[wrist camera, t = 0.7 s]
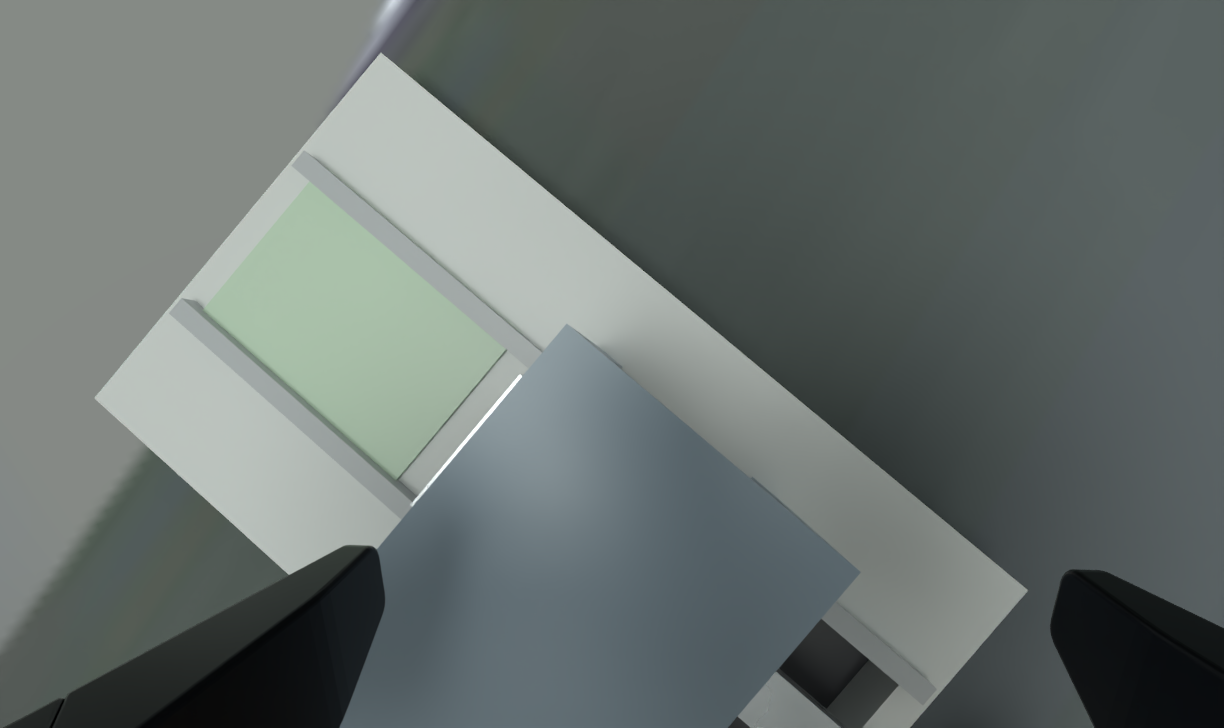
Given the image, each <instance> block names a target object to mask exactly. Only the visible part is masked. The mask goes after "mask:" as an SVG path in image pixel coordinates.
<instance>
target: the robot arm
mask: <svg viewBox="0 0 1224 728" xmlns="http://www.w3.org/2000/svg"><path fill="white" fill-rule="evenodd" d="M384 608H385V590H384V583H383V577H382V571H381V564H380V558H379V554H378V551H377V549H376V548H374V547H373V546H370V545H344V546H342V547H340V548H338V549H337V550H335V551H333V552H331V553H329V554H327V555H325V556H323V557H322V558H320V559H318V560H316V561H314V562H312V563H310V564H308V565H307V566H305V567H303V568H301V569H299V570H297V571H295V572H294V573H292V574H290V575H288V576H286V577H284V578H282V579H280V580H279V581H277V582H275V583H273V584H271V585H269V586H267V587H266V588H264V589H262V590H260V591H258V592H256V593H254V594H252V595H251V596H249V597H247V598H245V599H243V600H241V601H239V602H238V603H236V604H234V605H232V606H230V607H228V608H226V609H224V610H223V611H221V612H219V613H217V614H215V615H213V616H211V617H210V618H208V619H206V620H204V621H202V622H200V623H198V624H196V625H195V626H193V627H191V628H189V629H187V630H185V631H183V632H182V633H180V634H178V635H176V636H174V637H172V638H170V639H168V640H167V641H165V642H163V643H161V644H159V645H157V646H155V647H153V648H152V649H150V650H148V651H146V652H144V653H142V654H140V655H139V656H137V657H135V658H133V659H131V660H129V661H127V662H125V663H124V664H122V665H120V666H118V667H116V668H114V669H112V670H111V671H109V672H107V673H105V674H103V675H101V676H99V677H97V678H96V679H94V680H92V681H90V682H88V683H86V684H84V685H83V686H81V687H79V688H77V689H75V690H73V691H71V692H70V693H68V694H67V696H66V698H65V699H64V698H58V699H56V700H54V701H52V702H50V703H49V704H47V705H45V706H43V707H41V708H39V709H37V710H36V711H34V712H32V713H30V714H28V715H26V716H25V717H23V718H21V719H19V720H17V721H15V722H13V723H11V724H9V725H7V726H5V727H3V728H340V725H341V723H342V721H343V719H344V716H345V714H346V711H347V709H348V706H349V704H350V701H351V699H352V696H353V693H354V691H355V688H356V685H357V683H358V680H359V677H360V675H361V672H362V669H363V666H364V664H365V661H366V658H367V656H368V653H369V650H370V648H371V645H372V642H373V640H374V637H375V634H376V631H377V629H378V626H379V623H380V621H381V618H382V615H383V612H384ZM1050 630H1051V636H1052V639H1053V642H1054V645H1055V647H1056V649H1057V651H1058V653H1059V655H1060V657H1061V659H1062V661H1063V663H1064V666H1065V668H1066V670H1067V672H1068V674H1069V676H1070V678H1071V680H1072V682H1073V684H1074V686H1075V688H1076V690H1077V693H1078V695H1079V697H1080V699H1081V701H1082V703H1083V705H1084V707H1085V709H1086V711H1087V713H1088V715H1089V718H1090V720H1091V722H1092V724H1093V726H1094V728H1224V628H1222V627H1220V626H1218V625H1216V624H1214V623H1212V622H1210V621H1208V620H1206V619H1203V618H1201V617H1199V616H1197V615H1195V614H1193V613H1191V612H1189V611H1187V610H1185V609H1183V608H1181V607H1179V606H1176V605H1174V604H1172V603H1170V602H1168V601H1166V600H1164V599H1162V598H1160V597H1158V596H1156V595H1154V594H1152V593H1149V592H1147V591H1145V590H1143V589H1141V588H1139V587H1137V586H1135V585H1133V584H1131V583H1129V582H1127V581H1125V580H1122V579H1120V578H1118V577H1116V576H1114V575H1112V574H1110V573H1108V572H1105V571H1100V570H1069V571H1067V572H1066V573H1065V574H1064V575H1063V576H1062V579H1061V582H1060V586H1059V590H1058V594H1057V598H1056V602H1055V606H1054V610H1053V614H1052V618H1051V624H1050Z"/></svg>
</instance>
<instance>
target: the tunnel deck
mask: <svg viewBox="0 0 1224 728" xmlns="http://www.w3.org/2000/svg"><path fill="white" fill-rule="evenodd" d="M520 374H522V375H523V376H522V377H521V378H520V380H519V381H518V382H517V383H516V384H515V386H514V387H513V388H512V389H511V390H510V391H509V393H508V394H507V395H506V396H505V397H504V399H503V400H502V401H501V402H500V403H499V405H498V406H497V407H496V408H495V409H494V410H493V412H492V413H491V414H490V415H489V416H488V418H487V419H486V420H485V421H484V422H483V424H482V425H481V426H480V427H479V428H478V429H477V431H476V432H475V433H474V434H473V435H472V437H471V438H470V439H469V440H468V441H467V443H466V444H465V445H464V446H463V447H462V449H461V450H460V451H459V452H458V453H457V454H456V456H455V457H454V458H453V459H452V460H451V462H450V463H449V464H448V465H447V466H446V468H445V469H444V470H443V471H442V472H441V473H440V475H439V476H438V477H437V478H436V479H435V481H434V482H433V483H432V484H431V485H430V487H429V488H428V489H427V490H426V491H425V492H424V494H423V495H422V496H421V497H420V498H419V500H418V501H417V502H416V503H415V504H414V506H413V507H412V506H410V504H411V503H412V502H413V501H414V500H415V499H416V497H417V496H418V495H419V494H420V493H421V491H422V490H423V489H424V488H425V487H426V485H427V484H428V483H429V482H430V481H431V480H432V478H433V477H434V476H435V475H436V474H437V472H438V471H439V470H440V469H441V468H442V466H443V465H444V464H445V463H446V462H447V460H448V459H449V458H450V457H451V456H452V455H453V453H454V452H455V451H456V450H457V449H458V447H459V446H460V445H461V444H462V443H463V441H464V440H465V439H466V438H467V437H468V436H469V434H470V433H471V432H472V431H473V430H474V428H475V427H476V426H477V425H478V424H479V422H480V421H481V420H482V419H483V418H484V417H485V415H486V414H487V413H488V412H489V411H490V409H491V408H492V407H493V406H494V405H495V403H496V402H497V401H498V400H499V399H500V398H501V396H502V395H503V394H504V393H505V392H506V390H507V389H508V388H509V387H510V386H511V384H512V383H513V382H514V381H515V380H516V378H517V377H518V376H519V375H520ZM95 399H96V400H97V401H98V402H99V403H100V404H101V405H102V406H103V407H105V408H106V409H107V410H108V411H109V412H110V413H111V414H112V415H114V417H116V418H117V419H118V420H119V421H120V422H121V423H122V424H123V425H124V426H126V427H127V428H128V429H129V430H130V431H131V432H132V433H134V435H135V436H137V437H138V438H139V439H140V440H141V441H142V442H143V443H144V444H145V445H146V446H148V447H149V448H150V449H151V450H152V451H153V452H154V453H155V454H156V455H157V456H159V457H160V458H161V459H162V460H163V461H164V462H165V463H166V464H167V465H168V466H170V467H171V468H172V469H173V470H174V471H175V472H176V473H177V474H178V475H180V476H181V477H182V478H183V479H184V480H185V481H186V482H187V483H188V484H189V485H191V486H192V487H193V488H194V489H195V490H196V491H197V492H198V493H199V494H200V495H202V496H203V497H204V498H205V499H206V500H207V501H208V502H209V503H210V504H211V505H213V506H214V507H215V508H216V509H217V510H218V511H219V512H220V513H221V514H223V515H224V516H225V517H226V518H227V519H228V520H229V521H230V522H231V523H232V524H234V525H235V526H236V527H237V528H238V529H239V530H240V531H241V532H242V533H243V534H245V535H246V536H247V537H248V538H249V539H250V540H251V541H252V542H253V543H254V544H256V545H257V546H258V547H259V548H260V549H261V550H262V551H263V552H264V553H266V554H267V555H268V556H269V557H270V558H271V559H272V560H273V561H274V562H275V563H277V564H278V565H279V566H280V567H281V568H282V569H283V570H284V571H285V572H286V573H288V574H289V575H290V574H292V573H294V572H295V571H297V570H299V569H301V568H303V567H305V566H307V565H308V564H310V563H312V562H314V561H316V560H318V559H320V558H322V557H323V556H325V555H327V554H329V553H331V552H333V551H335V550H337V549H338V548H340V547H342V546H344V545H370V546H373V547H374V548H376V549H377V551H378V554H379V558H380V564H381V571H382V577H383V583H384V590H385V608H384V612H383V615H382V618H381V621H380V623H379V626H378V629H377V631H376V634H375V637H374V640H373V642H372V645H371V648H370V650H369V653H368V656H367V658H366V661H365V664H364V666H363V669H362V672H361V675H360V677H359V680H358V683H357V685H356V688H355V691H354V693H353V696H352V699H351V701H350V704H349V706H348V709H347V711H346V714H345V716H344V719H343V721H342V723H341V725H340V728H750V727H749V726H748V725H747V724H746V723H745V722H743V721H742V720H741V719H740V718H739V717H738V715H739V714H740V713H741V712H742V711H743V709H744V708H745V707H746V706H747V705H748V704H749V702H750V701H751V700H752V699H753V698H754V697H755V695H756V694H757V693H758V692H759V691H760V690H761V688H762V687H763V686H764V685H765V684H766V683H767V681H768V680H769V679H770V678H771V677H772V675H773V674H774V673H775V672H776V671H777V670H778V668H779V669H780V670H782V671H783V672H784V673H785V674H786V675H787V676H789V677H790V678H791V679H792V680H793V681H794V682H796V683H797V684H798V685H799V686H800V687H801V688H802V689H804V690H805V691H806V692H807V693H808V694H809V695H811V696H812V697H813V698H814V699H815V700H816V701H817V702H819V703H820V704H821V705H822V706H823V707H824V708H826V709H827V710H828V711H829V712H830V713H831V714H833V715H834V716H835V717H836V718H837V719H838V720H839V721H841V722H842V723H843V724H844V725H845V726H846V727H848V728H910V727H911V726H912V725H913V724H914V722H915V721H916V720H917V719H918V718H919V717H920V715H921V714H922V713H923V712H924V711H925V710H926V708H927V707H928V706H929V705H930V704H931V703H932V702H933V700H934V699H935V698H936V697H937V696H938V695H939V693H940V692H941V691H942V690H943V689H944V688H945V686H946V685H947V684H948V683H949V682H950V681H951V679H952V678H953V677H954V676H955V675H956V674H957V673H958V671H959V670H960V669H961V668H962V667H963V666H964V664H965V663H966V662H967V661H968V660H969V659H970V657H971V656H972V655H973V654H974V653H975V652H976V650H977V649H978V648H979V647H980V646H981V645H982V644H983V642H984V641H985V640H986V639H987V638H988V637H989V635H990V634H991V633H992V632H993V631H994V630H995V628H996V627H997V626H998V625H999V624H1000V623H1001V621H1002V620H1003V619H1004V618H1005V617H1006V616H1007V615H1008V613H1009V612H1010V611H1011V610H1012V609H1013V608H1014V606H1015V605H1016V604H1017V603H1018V602H1019V601H1020V599H1021V598H1022V597H1023V596H1024V595H1025V594H1026V592H1027V591H1028V590H1027V589H1026V588H1024V587H1023V586H1022V585H1021V584H1020V583H1018V582H1017V581H1016V580H1015V579H1014V578H1012V577H1011V576H1010V575H1009V574H1008V573H1006V572H1005V571H1004V570H1003V569H1002V568H1000V567H999V566H998V565H997V564H996V563H994V562H993V561H992V560H991V559H990V558H988V557H987V556H986V555H985V554H984V553H982V552H981V551H980V550H979V549H978V548H976V547H975V546H974V545H973V544H972V543H970V542H969V541H968V540H967V539H966V538H964V537H963V536H962V535H961V534H959V533H958V532H957V531H956V530H955V529H953V528H952V527H951V526H950V525H949V524H947V523H946V522H945V521H944V520H943V519H941V518H940V517H939V516H938V515H937V514H935V513H934V512H933V511H932V510H931V509H929V508H928V507H927V506H926V505H925V504H923V503H922V502H921V501H920V500H919V499H917V498H916V497H915V496H914V495H913V494H911V493H910V492H909V491H908V490H907V489H905V488H904V487H903V486H902V485H901V484H899V483H898V482H897V481H896V480H895V479H893V478H892V477H891V476H890V475H888V474H887V473H886V472H885V471H884V470H882V469H881V468H880V467H879V466H878V465H876V464H875V463H874V462H873V461H872V460H870V459H869V458H868V457H867V456H866V455H864V454H863V453H862V452H861V451H860V450H858V449H857V448H856V447H855V446H854V445H852V444H851V443H850V442H849V441H848V440H846V439H845V438H844V437H843V436H842V435H840V434H839V433H838V432H837V431H836V430H834V429H833V428H832V427H831V426H830V425H828V424H827V423H826V422H825V421H823V420H822V419H821V418H820V417H819V416H817V415H816V414H815V413H814V412H813V411H811V410H810V409H809V408H808V407H807V406H805V405H804V404H803V403H802V402H801V401H799V400H798V399H797V398H796V397H795V396H793V395H792V394H791V393H790V392H789V391H787V390H786V389H785V388H784V387H783V386H781V385H780V384H779V383H778V382H777V381H775V380H774V379H773V378H772V377H771V376H769V375H768V374H767V373H766V372H765V371H763V370H762V369H761V368H760V367H758V366H757V365H756V364H755V363H754V362H752V361H751V360H750V359H749V358H748V357H746V356H745V355H744V354H743V353H742V352H740V351H739V350H738V349H737V348H736V347H734V346H733V345H732V344H731V343H730V342H728V341H727V340H726V339H725V338H724V337H722V336H721V335H720V334H719V333H718V332H716V331H715V330H714V329H713V328H712V327H710V326H709V325H708V324H707V323H706V322H704V321H703V320H702V319H701V318H700V317H698V316H697V315H696V314H695V313H694V312H692V311H691V310H690V309H689V308H687V307H686V306H685V305H684V304H683V303H681V302H680V301H679V300H678V299H677V298H675V297H674V296H673V295H672V294H671V293H669V292H668V291H667V290H666V289H665V288H663V287H662V286H661V285H660V284H659V283H657V282H656V281H655V280H654V279H653V278H651V277H650V276H649V275H648V274H647V273H645V272H644V271H643V270H642V269H641V268H639V267H638V266H637V265H636V264H635V263H633V262H632V261H631V260H630V259H629V258H627V257H626V256H625V255H624V254H622V253H621V252H620V251H619V250H618V249H616V248H615V247H614V246H613V245H612V244H610V243H609V242H608V241H607V240H606V239H604V238H603V237H602V236H601V235H600V234H598V233H597V232H596V231H595V230H594V229H592V228H591V227H590V226H589V225H588V224H586V223H585V222H584V221H583V220H582V219H580V218H579V217H578V216H577V215H576V214H574V213H573V212H572V211H571V210H570V209H568V208H567V207H566V206H565V205H564V204H562V203H561V202H560V201H559V200H558V199H556V198H555V197H554V196H553V195H551V194H550V193H549V192H548V191H547V190H545V189H544V188H543V187H542V186H541V185H539V184H538V183H537V182H536V181H535V180H533V179H532V178H531V177H530V176H529V175H527V174H526V173H525V172H524V171H523V170H521V169H520V168H519V167H518V166H517V165H515V164H514V163H513V162H512V161H511V160H509V159H508V158H507V157H506V156H505V155H503V154H502V153H501V152H500V151H499V150H497V149H496V148H495V147H494V146H493V145H491V144H490V143H489V142H488V141H486V140H485V139H484V138H483V137H482V136H480V135H479V134H478V133H477V132H476V131H474V130H473V129H472V128H471V127H470V126H468V125H467V124H466V123H465V122H464V121H462V120H461V119H460V118H459V117H458V116H456V115H455V114H454V113H453V112H452V111H450V110H449V109H448V108H447V107H446V106H444V105H443V104H442V103H441V102H440V101H438V100H437V99H436V98H435V97H434V96H432V95H431V94H430V93H429V92H428V91H426V90H425V89H424V88H423V87H421V86H420V85H419V84H418V83H417V82H415V81H414V80H413V79H412V78H411V77H409V76H408V75H407V74H406V73H405V72H403V71H402V70H401V69H400V68H399V67H397V66H396V65H395V64H394V63H393V62H391V61H390V60H389V59H388V58H387V57H385V56H384V55H383V54H382V53H380V54H379V56H378V57H377V58H376V59H375V60H374V62H373V63H372V64H371V65H370V66H369V68H368V69H367V70H366V71H365V72H364V74H363V75H362V76H361V77H360V78H359V80H358V81H357V82H356V83H355V84H354V86H353V87H352V88H351V89H350V90H349V92H348V93H347V94H346V95H345V97H344V98H343V99H342V100H341V101H340V103H339V104H338V105H337V106H336V107H335V109H334V110H333V111H332V112H331V113H330V115H329V116H328V117H327V118H326V119H325V121H324V122H323V123H322V124H321V125H320V127H319V128H318V129H317V130H316V131H315V133H314V134H313V135H312V136H311V137H310V139H309V140H308V141H307V142H306V144H305V145H304V146H303V147H302V148H301V150H300V151H299V152H298V153H297V154H296V156H295V157H294V158H293V159H292V161H291V162H290V163H289V164H288V165H287V166H286V168H285V169H284V170H283V171H282V172H281V174H280V175H279V176H278V177H277V178H276V180H275V181H274V182H273V183H272V185H271V186H270V187H269V188H268V189H267V191H266V192H265V193H264V194H263V195H262V197H261V198H260V199H259V200H258V201H257V203H256V204H255V205H254V206H253V207H252V209H251V210H250V211H249V212H248V213H247V215H246V216H245V217H244V218H243V220H242V221H241V222H240V223H239V224H238V226H237V227H236V228H235V229H234V230H233V232H232V233H231V234H230V235H229V236H228V238H227V239H226V240H225V241H224V242H223V244H222V245H221V246H220V247H219V249H218V250H217V251H216V252H215V253H214V255H213V256H212V257H211V258H210V259H209V261H208V262H207V263H206V264H205V265H204V267H203V268H202V269H201V270H200V271H199V273H198V274H197V275H196V276H195V277H194V279H193V280H192V281H191V282H190V283H189V285H188V286H187V287H186V288H185V289H184V291H183V292H182V293H181V294H180V296H179V297H178V298H177V299H176V300H175V301H174V303H173V304H172V305H171V306H170V308H169V309H168V310H167V311H166V312H165V313H164V315H163V316H162V317H161V318H160V320H159V321H158V322H157V323H156V324H155V326H154V327H153V328H152V329H151V330H150V332H149V333H148V334H147V335H146V336H145V338H144V339H143V340H142V341H141V342H140V344H139V345H138V346H137V347H136V349H135V350H134V351H133V352H132V353H131V355H130V356H129V357H128V358H127V359H126V361H125V362H124V363H123V364H122V365H121V367H120V368H119V369H118V370H117V371H116V373H115V374H114V375H113V376H112V377H111V379H110V380H109V381H108V382H107V383H106V385H105V386H104V387H103V388H102V390H101V391H100V392H99V393H98V394H97V396H96V397H95Z"/></svg>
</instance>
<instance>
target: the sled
mask: <svg viewBox="0 0 1224 728" xmlns="http://www.w3.org/2000/svg"><path fill="white" fill-rule="evenodd" d="M522 376H523V375H522V374H520V375H519V376H518V377H517V378H516V380H515V381H514V382H513V383H512V384H511V386H510V387H509V388H508V389H507V390H506V392H505V393H504V394H503V395H502V396H501V398H500V399H499V400H498V401H497V402H496V403H495V405H494V406H493V407H492V408H491V409H490V411H489V412H488V413H487V414H486V415H485V417H484V418H483V419H482V420H481V421H480V422H479V424H478V425H477V426H476V427H475V428H474V430H473V431H472V432H471V433H470V434H469V436H468V437H467V438H466V439H465V440H464V441H463V443H462V444H461V445H460V446H459V447H458V449H457V450H456V451H455V452H454V453H453V455H452V456H451V457H450V458H449V459H448V460H447V462H446V463H445V464H444V465H443V466H442V468H441V469H440V470H439V471H438V472H437V474H436V475H435V476H434V477H433V478H432V480H431V481H430V482H429V483H428V484H427V485H426V487H425V488H424V489H423V490H422V491H421V493H420V494H419V495H418V496H417V497H416V499H415V500H414V501H413V502H412V503H411V504H410V506H412V507H413V506H414V504H415V503H416V502H417V501H418V500H419V498H420V497H421V496H422V495H423V494H424V492H425V491H426V490H427V489H428V488H429V487H430V485H431V484H432V483H433V482H434V481H435V479H436V478H437V477H438V476H439V475H440V473H441V472H442V471H443V470H444V469H445V468H446V466H447V465H448V464H449V463H450V462H451V460H452V459H453V458H454V457H455V456H456V454H457V453H458V452H459V451H460V450H461V449H462V447H463V446H464V445H465V444H466V443H467V441H468V440H469V439H470V438H471V437H472V435H473V434H474V433H475V432H476V431H477V429H478V428H479V427H480V426H481V425H482V424H483V422H484V421H485V420H486V419H487V418H488V416H489V415H490V414H491V413H492V412H493V410H494V409H495V408H496V407H497V406H498V405H499V403H500V402H501V401H502V400H503V399H504V397H505V396H506V395H507V394H508V393H509V391H510V390H511V389H512V388H513V387H514V386H515V384H516V383H517V382H518V381H519V380H520V378H521V377H522ZM738 717H739V718H740V719H741V720H742V721H743V722H745V723H746V724H747V725H748V726H749V727H750V728H848V727H846V726H845V725H844V724H843V723H842V722H841V721H839V720H838V719H837V718H836V717H835V716H834V715H833V714H831V713H830V712H829V711H828V710H827V709H826V708H824V707H823V706H822V705H821V704H820V703H819V702H817V701H816V700H815V699H814V698H813V697H812V696H811V695H809V694H808V693H807V692H806V691H805V690H804V689H802V688H801V687H800V686H799V685H798V684H797V683H796V682H794V681H793V680H792V679H791V678H790V677H789V676H787V675H786V674H785V673H784V672H783V671H782V670H780V669H779V668H778V670H777V671H776V672H775V673H774V674H773V675H772V677H771V678H770V679H769V680H768V681H767V683H766V684H765V685H764V686H763V687H762V688H761V690H760V691H759V692H758V693H757V694H756V695H755V697H754V698H753V699H752V700H751V701H750V702H749V704H748V705H747V706H746V707H745V708H744V709H743V711H742V712H741V713H740V714H739V715H738Z"/></svg>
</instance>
